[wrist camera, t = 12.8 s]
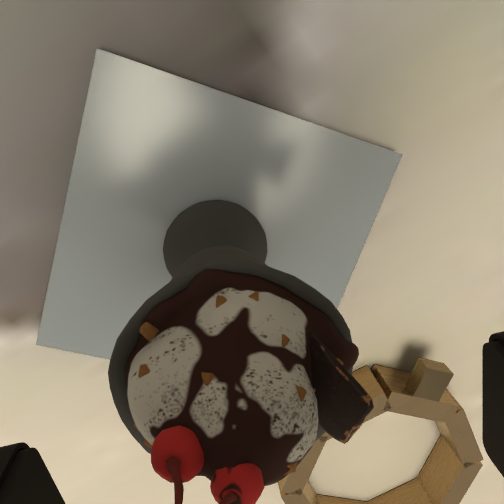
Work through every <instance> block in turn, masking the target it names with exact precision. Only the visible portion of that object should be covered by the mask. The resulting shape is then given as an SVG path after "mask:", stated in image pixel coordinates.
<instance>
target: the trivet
mask: <svg viewBox="0 0 504 504" xmlns="http://www.w3.org/2000/svg"><path fill="white" fill-rule="evenodd" d="M402 155H403V154H400V153H397V152H394V151H391V150H389V149H386V148H383V147H380V146H377V145H374V144H371V143H368V142H366V141H363V140H360V139H357V138H354V137H351V136H348V135H345V134H343V133H340V132H337V131H334V130H331V129H328V128H325V127H322V126H320V125H317V124H314V123H311V122H308V121H305V120H302V119H299V118H296V117H294V116H291V115H288V114H285V113H282V112H279V111H276V110H273V109H271V108H268V107H265V106H262V105H259V104H256V103H253V102H250V101H248V100H245V99H242V98H239V97H236V96H233V95H230V94H227V93H225V92H222V91H219V90H216V89H213V88H210V87H207V86H204V85H202V84H199V83H196V82H193V81H190V80H187V79H184V78H181V77H179V76H176V75H173V74H170V73H167V72H164V71H161V70H158V69H156V68H153V67H150V66H147V65H144V64H141V63H138V62H135V61H133V60H130V59H127V58H124V57H121V56H118V55H115V54H112V53H110V52H107V51H104V50H101V49H98V48H97V50H96V55H95V60H94V65H93V70H92V74H91V79H90V84H89V89H88V94H87V99H86V104H85V109H84V113H83V118H82V123H81V128H80V133H79V138H78V143H77V148H76V152H75V157H74V162H73V167H72V172H71V177H70V182H69V187H68V191H67V196H66V201H65V206H64V211H63V216H62V221H61V226H60V230H59V235H58V240H57V245H56V250H55V255H54V260H53V265H52V269H51V274H50V279H49V284H48V289H47V294H46V299H45V304H44V308H43V313H42V318H41V323H40V328H39V333H38V338H37V343H36V345H40V346H45V347H50V348H55V349H60V350H65V351H70V352H75V353H80V354H85V355H90V356H95V357H100V358H105V359H111V355H112V352H113V349H114V346H115V343H116V340H117V338H118V336H119V335H120V333H121V332H122V330H123V329H124V327H125V326H126V325H127V323H128V322H129V320H130V319H131V318H132V316H133V315H134V314H135V313H136V312H137V310H138V309H139V308H140V307H141V306H142V305H143V303H144V302H145V301H146V300H147V299H148V298H150V297H151V296H152V295H153V294H155V293H156V292H157V291H159V290H160V289H161V288H162V287H164V286H165V285H166V284H168V283H169V282H170V281H171V279H172V278H173V277H172V276H171V275H170V273H169V271H168V270H167V268H166V264H165V261H164V255H163V245H164V239H165V236H166V232H167V230H168V228H169V226H170V225H171V223H172V222H173V221H174V219H175V218H176V217H177V216H178V215H179V214H180V213H181V212H183V211H184V210H185V209H187V208H188V207H190V206H192V205H194V204H196V203H199V202H204V201H210V200H223V201H229V202H232V203H235V204H239V205H240V206H242V207H244V208H245V209H247V210H248V211H249V212H251V213H252V214H253V215H254V216H255V217H256V218H257V220H258V221H259V223H260V224H261V226H262V228H263V230H264V232H265V234H266V240H267V256H266V261H265V264H266V265H268V266H269V267H271V268H274V269H277V270H280V271H282V272H285V273H288V274H291V275H293V276H295V277H297V278H299V279H300V280H302V281H303V282H305V283H307V284H308V285H310V286H311V287H313V288H315V289H316V290H317V291H318V292H320V293H321V294H322V295H323V296H325V297H326V298H327V299H329V300H330V301H331V302H332V303H333V304H334V306H335V307H336V309H337V307H338V305H339V303H340V300H341V298H342V296H343V293H344V291H345V289H346V286H347V284H348V282H349V279H350V277H351V274H352V272H353V270H354V267H355V265H356V263H357V260H358V258H359V256H360V253H361V251H362V249H363V246H364V244H365V242H366V239H367V237H368V235H369V232H370V230H371V227H372V225H373V223H374V220H375V218H376V216H377V213H378V211H379V209H380V206H381V204H382V202H383V199H384V197H385V195H386V192H387V190H388V188H389V185H390V183H391V180H392V178H393V176H394V173H395V171H396V169H397V166H398V164H399V162H400V159H401V157H402Z"/></svg>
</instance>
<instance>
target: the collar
mask: <svg viewBox="0 0 504 504" xmlns="http://www.w3.org/2000/svg"><path fill="white" fill-rule="evenodd" d="M453 375H454V374H453V373H452V372H451V371H450V370H449V368H448V367H447V366H446V365H445V364H444V363H440V362H436V361H432V360H428V359H423V358H418V360H417V362H416V364H415V366H414V368H413V370H412V372H406V371H402V370H397V369H393V368H388V367H384V366H380V365H375V364H374V365H373V367H372V369H371V371H370V369H369V367H368V366H367V365H366V366H364V367H362V368H360V369H358V370H356V371H354V372H352V376H353V377H354V378H355V379H356V380H357V381H358V383H359V384H360V385H361V386H362V387H363V388H364V389H365V391H366V392H367V393H368V394H369V395H370V396H371V398H372V401H373V405H374V408H373V409H372V411H371V412H370V413H369V414H368V415H367V416H366V417H365V420H364V422H366V421H368V420H370V419H372V418H374V417H376V416H378V415H380V414H382V413H384V412H386V411H390V412H395V413H400V414H405V415H410V416H415V417H420V418H425V419H429V420H434V421H436V423H437V426H438V428H439V430H440V433H441V436H440V438H439V439H438V441H437V443H436V445H435V447H434V448H433V450H432V452H431V454H430V456H429V457H428V459H427V461H426V463H425V465H424V466H423V468H422V470H421V472H420V474H419V475H418V477H417V478H416V479H414V480H412V481H410V482H408V483H406V484H403V485H401V486H399V487H397V488H395V489H393V490H391V491H389V492H387V493H385V494H382V495H380V496H378V497H376V498H374V499H372V500H370V501H368V502H364V501H357V500H351V499H344V498H337V497H331V496H324V495H317V494H316V493H315V491H314V489H313V488H312V486H311V485H310V483H309V482H308V479H309V477H310V474H311V472H312V470H313V468H314V466H315V464H316V462H317V459H318V457H319V455H320V453H321V451H322V449H323V446H324V444H325V442H326V441H327V440H329V439H331V438H333V437H332V436H330V435H329V434H328V433H327V432H325V433H324V434H323V435H322V436H321V437H320V438H318V439H317V440H316V441H315V442H314V444H313V447H312V448H311V449H310V450H309V452H308V453H307V454H306V456H305V457H304V458H303V459H302V461H301V462H300V463H299V464H298V465H297V468H296V472H293V473H290V474H288V475H287V476H286V477H285V478H283V479H282V480H280V481H278V484H279V489H280V493H281V498H282V499H283V501H284V502H285V504H459V503H460V502H461V500H462V498H463V497H464V495H465V493H466V492H467V490H468V488H469V487H470V485H471V483H472V482H473V480H474V478H475V477H476V475H477V473H478V472H479V470H480V469H481V467H482V463H481V462H480V461H481V460H483V457H482V455H481V452H480V450H479V447H478V444H477V442H476V439H475V437H474V434H473V432H472V429H471V427H470V424H469V422H468V419H467V417H466V414H465V412H464V409H463V408H462V407H461V406H460V405H459V403H458V402H457V401H456V400H455V399H454V397H453V396H452V395H451V394H450V393H449V391H448V390H447V389H446V388H447V386H448V384H449V382H450V380H451V378H452V377H453ZM364 422H363V423H364Z"/></svg>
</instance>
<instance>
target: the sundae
mask: <svg viewBox="0 0 504 504" xmlns="http://www.w3.org/2000/svg"><path fill="white" fill-rule="evenodd" d="M163 255H164V261H165V264H166V268H167V270H168V271H169V273H170V275H171V276H172V277H173V278H172V279H171V281H170V282H169V283H168V284H166V285H165V286H164V287H162V288H161V289H160V290H159V291H157V292H156V293H155V294H153V295H152V296H151V297H150V298H148V299H147V300H146V301H145V302H144V303H143V305H142V306H141V307H140V308H139V309H138V310H137V312H136V313H135V314H134V315H133V316H132V318H131V319H130V320H129V322H128V323H127V325H126V326H125V327H124V329H123V330H122V332H121V333H120V335H119V336H118V338H117V340H116V343H115V346H114V349H113V352H112V355H111V359H110V365H109V370H108V376H109V384H110V390H111V393H112V397H113V400H114V403H115V406H116V408H117V410H118V413H119V415H120V417H121V420H122V421H123V423H124V424H125V426H126V427H127V429H128V430H129V432H130V433H131V434H132V436H133V437H134V438H135V439H136V440H137V441H138V442H139V443H140V445H141V446H142V447H143V448H144V449H145V450H146V451H147V452H148V453H150V454H151V463H152V466H153V469H154V470H155V472H156V473H157V474H159V475H160V476H161V477H162V478H164V479H165V480H167V481H169V482H174V488H175V504H182V502H183V490H184V489H183V483H184V482H188V481H190V480H191V479H192V478H194V477H195V476H206V477H207V478H208V479H209V480H211V486H210V487H211V493H212V494H213V496H214V498H215V500H216V501H217V502H218V503H219V504H255V503H256V501H257V500H258V498H259V497H260V495H261V493H262V491H263V489H264V486H268V485H271V484H274V483H276V482H278V481H280V480H282V479H283V478H285V477H286V476H287V475H288V474H290V473H293V472H296V468H297V465H298V464H299V463H300V462H301V461H302V459H303V458H304V457H305V456H306V454H307V453H308V452H309V450H310V449H311V448H312V447H313V444H314V442H315V441H316V440H317V439H318V438H320V437H321V436H322V435H323V434H324V433H325V432H327V433H328V434H329V435H330V436H332V437H333V438H335V439H336V440H338V441H340V442H342V443H344V444H345V443H346V442H348V441H349V439H350V438H351V437H352V436H353V434H354V433H355V432H356V431H357V430H358V429H359V428H360V426H361V425H362V423H363V422H364V420H365V417H366V416H367V415H368V414H369V413H370V412H371V411H372V409H373V408H374V405H373V401H372V398H371V396H370V395H369V394H368V393H367V392H366V391H365V389H364V388H363V387H362V386H361V385H360V384H359V383H358V381H357V380H356V379H355V378H354V377H353V376H352V369H353V365H354V364H355V362H356V361H357V358H358V355H359V351H358V347H357V346H356V345H355V344H353V343H352V340H351V335H350V330H349V328H348V326H347V324H346V322H345V320H344V318H343V317H342V315H341V314H340V313H339V311H338V310H337V309H336V307H335V306H334V304H333V303H332V302H331V301H330V300H329V299H327V298H326V297H325V296H323V295H322V294H321V293H320V292H318V291H317V290H316V289H315V288H313V287H311V286H310V285H308V284H307V283H305V282H303V281H302V280H300V279H299V278H297V277H295V276H293V275H291V274H288V273H285V272H282V271H280V270H277V269H274V268H271V267H269V266H268V265H266V264H265V261H266V256H267V240H266V234H265V232H264V230H263V228H262V226H261V224H260V223H259V221H258V220H257V218H256V217H255V216H254V215H253V214H252V213H251V212H249V211H248V210H247V209H245V208H244V207H242V206H240V205H239V204H235V203H232V202H229V201H223V200H210V201H204V202H199V203H196V204H194V205H192V206H190V207H188V208H187V209H185V210H184V211H183V212H181V213H180V214H179V215H178V216H177V217H176V218H175V219H174V221H173V222H172V223H171V225H170V226H169V228H168V230H167V232H166V236H165V239H164V245H163ZM182 482H183V483H182Z"/></svg>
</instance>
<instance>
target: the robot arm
mask: <svg viewBox="0 0 504 504" xmlns="http://www.w3.org/2000/svg"><path fill="white" fill-rule="evenodd" d="M483 444H484V447H485V450H486V452H487V454H488V456H489V458H490V459H491V461H492V462H493V463H494V465H495V466H496V467H497V469H498V470H499V471H500V473H501V474H502V476H503V477H504V332H499V333H495V334H492V335H491V336H490V338H489V343H485V344H484V345H483ZM0 504H65V502H64V500H63V498H62V496H61V494H60V492H59V490H58V489H57V487H56V485H55V483H54V481H53V479H52V477H51V475H50V473H49V471H48V469H47V467H46V465H45V463H44V462H43V460H42V458H41V456H40V454H39V452H38V451H37V449H36V448H30V447H29V446H28V445H27V444H26V443H17V444H12V445H8V446H4V447H0Z"/></svg>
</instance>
